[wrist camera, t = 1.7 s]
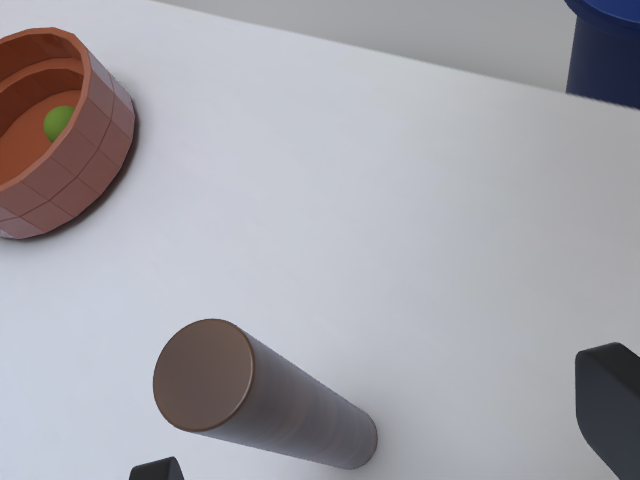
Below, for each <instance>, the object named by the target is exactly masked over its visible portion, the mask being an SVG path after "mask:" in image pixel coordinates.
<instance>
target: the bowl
mask: <svg viewBox="0 0 640 480" xmlns="http://www.w3.org/2000/svg"><path fill="white" fill-rule="evenodd" d="M59 106H71V107H74V108H75V110H74V112H73V114H72V116H71V118H70V120H69V122H68V124H67V126H66V127H65V128H64V130H63V131H62V132H61V133H60V135H59V136H58V137H57V138H56V140H55V141H54V142H53V143H51V142H50V141H49V139H48V138H47V136H46V134H45V132H44V120H45V117H46V115H47V114H48V113H49V112H50V111H51V110H52V109H54V108H56V107H59ZM134 123H135V113H134V110H133V106H132V102H131V99H130V95H129V94H128V93H127V92H126V91H125V89H124V88H123V87H122V86H121V85H120V84H119V83H118V82H117V81H116V80H115V78H114V77H113V76H112V75H111V74H110V73H109V72H108V71H107V70H106V69H105V67H104V66H103V65H102V64H101V63H100V62H99V61H98V60H97V59H96V58H95V56H94V55H93V54H92V53H91V52H90V51H89V50H88V49H87V48H86V47H85V46H84V44H83V43H82V42H81V41H80V40H79V39H78V38H77V37H76V36H75V35H74V34H72V33H69V32H66V31H63V30H60V29H57V28H54V27H50V28H31V29H27V30H24V31H21V32H18V33H15V34H12V35H9V36H6V37H3V38H2V39H0V237H7V238H14V239H22V238H27V237H31V236H36V235H40V234H45V233H47V232H49V231H51V230H53V229H55V228H57V227H58V226H60V225H62V224H64V223H66V222H68V221H70V220H72V219H73V218H74V217H76V216H78V215H79V214H80V213H81V212H82V211H83V210H84V209H86V208H87V207H88V206H89V205H90V204H91V203H93V202H94V201H95V200H96V199H97V198H98V197H99V196H100V195H102V193H103V192H104V191H105V189H106V188H107V187H108V185H109V184H110V182H111V181H112V180H113V178H114V177H115V176H116V174H117V173H118V172H119V170H120V169H121V167H122V164H123V162H124V160H125V157H126V155H127V153H128V150H129V148H130V146H131V143H132V141H133V132H134Z"/></svg>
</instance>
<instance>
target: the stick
mask: <svg viewBox="0 0 640 480" xmlns="http://www.w3.org/2000/svg"><path fill="white" fill-rule="evenodd" d="M153 393H154V398H155V401H156V404H157V407H158V409H159V411H160V412H161V414H162V415H163V417H164V418H165V419H166V420H167V421H168V422H169V423H170V424H171V425H173V426H174V427H176V428H178V429H180V430H183V431H186V432H190V433H194V434H199V435H203V436H207V437H211V438H216V439H220V440H224V441H228V442H233V443H237V444H241V445H245V446H249V447H254V448H258V449H262V450H266V451H271V452H275V453H279V454H283V455H288V456H292V457H296V458H300V459H304V460H309V461H313V462H317V463H321V464H326V465H330V466H334V467H338V468H343V469H355V468H358V467H360V466H362V465H364V464H365V463H366V462H367V461H368V460H369V459H370V458H371V457H372V455H373V453H374V451H375V449H376V445H377V431H376V427H375V425H374V423H373V421H372V420H371V418H370V417H369V416H368V415H367V414H366V413H365V412H363V411H362V410H360V409H359V408H357V407H356V406H354V405H353V404H351V403H350V402H348V401H347V400H345V399H344V398H343V397H341V396H340V395H338V394H337V393H335V392H334V391H332V390H331V389H329V388H328V387H326V386H325V385H323V384H322V383H320V382H319V381H317V380H316V379H314V378H313V377H311V376H310V375H309V374H307V373H306V372H304V371H303V370H301V369H300V368H298V367H297V366H295V365H294V364H292V363H291V362H289V361H288V360H286V359H285V358H283V357H282V356H280V355H279V354H277V353H276V352H274V351H273V350H272V349H270V348H269V347H267V346H266V345H264V344H263V343H261V342H260V341H258V340H257V339H255V338H254V337H252V336H251V335H249V334H248V333H246V332H245V331H243V330H242V329H240V328H239V327H238V326H236V325H234V324H233V323H231V322H228V321H226V320H221V319H204V320H200V321H197V322H194V323H191V324H189V325H187V326H186V327H184V328H182V329H181V330H180V331H178V332H177V333H176V334H175V335H174V336H173V337H172V338H171V339H170V340H169V341H168V343H167V344H166V345H165V347H164V348H163V350H162V352H161V354H160V356H159V358H158V360H157V363H156V366H155V370H154V376H153Z"/></svg>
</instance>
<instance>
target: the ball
mask: <svg viewBox="0 0 640 480" xmlns="http://www.w3.org/2000/svg"><path fill="white" fill-rule="evenodd" d="M74 110H75V108H74V107H71V106H59V107H56V108H54V109H52V110H51V111H50V112H49V113H48V114H47V115H46V117H45V120H44V132H45V134H46V136H47V138H48V139H49V141H50V142H51V143H53V142H54V141H55V140H56V138H57V137H58V136H59V135H60V133H61V132H62V131H63V130H64V128H65V127H66V126H67V124H68V122H69V120H70V118H71V116H72V114H73V112H74Z"/></svg>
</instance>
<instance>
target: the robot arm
mask: <svg viewBox="0 0 640 480" xmlns="http://www.w3.org/2000/svg"><path fill="white" fill-rule="evenodd" d="M575 388H576V417H577V422H578V425H579V428H580V430H581V433H582V435H583V436H584V438H585V440H586V441H587V443H588V444H589V445H590V447H591V448H592V449H593V450H594V451H595V452H596V453H597V455H598V456H599V457H600V458H601V459H602V460H603V461H604V462H605V463H606V465H607V466H608V467H609V468H610V469H611V470H612V471H613V472H614V473H615V475H616V476H617V477H618V478H619V479H620V480H640V357H638V356H637V355H636V354H635V353H633V352H632V351H631V350H629V349H628V348H627V347H625V346H624V345H622V344H621V343H618V342H613V343H609V344H606V345H602V346H598V347H594V348H590V349H587V350H583V351H580V352H578V353H577V355H576V358H575ZM129 480H184V477H183V474H182V472H181V469H180V466H179V463H178V461H177V459H176V458H175V457H169V458H165V459H161V460H157V461H154V462H150V463H146V464H142V465H138V466H135V467H133V468H132V470H131V473H130V477H129Z"/></svg>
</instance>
